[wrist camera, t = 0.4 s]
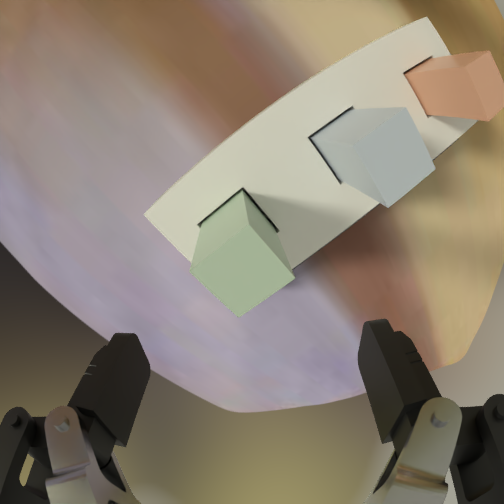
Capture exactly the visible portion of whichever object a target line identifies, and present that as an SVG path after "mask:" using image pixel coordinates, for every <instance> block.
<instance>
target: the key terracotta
mask: <svg viewBox="0 0 504 504" xmlns="http://www.w3.org/2000/svg"><path fill="white" fill-rule="evenodd" d="M404 76H405V77H406V79H407V81H408V83H409V84H410V86H411V88H412V89H413V91H414V93H415V95H416V97H417V98H418V100H419V102H420V104H421V106H422V108H423V110H424V112H425V114H426V115H435V116H448V117H458V118H467V119H475V120H482V121H488V122H489V121H490V120H491V119H492V118H493V117H494V116H495V115H496V114H497V113H498V112H499V111H500V110H501V109H502V108H503V107H504V82H503V79H502V77H501V75H500V72H499V70H498V68H497V65H496V63H495V61H494V59H493V57H492V55H491V53H490V50H489V51H479V52H470V53H462V54H455V55H448V56H442V57H437V58H431V59H427V60H425V61H423V62H422V63H420V64H418V65H417V66H415V67H413V68H412V69H410V70H409V71H407V72H405V73H404Z"/></svg>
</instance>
